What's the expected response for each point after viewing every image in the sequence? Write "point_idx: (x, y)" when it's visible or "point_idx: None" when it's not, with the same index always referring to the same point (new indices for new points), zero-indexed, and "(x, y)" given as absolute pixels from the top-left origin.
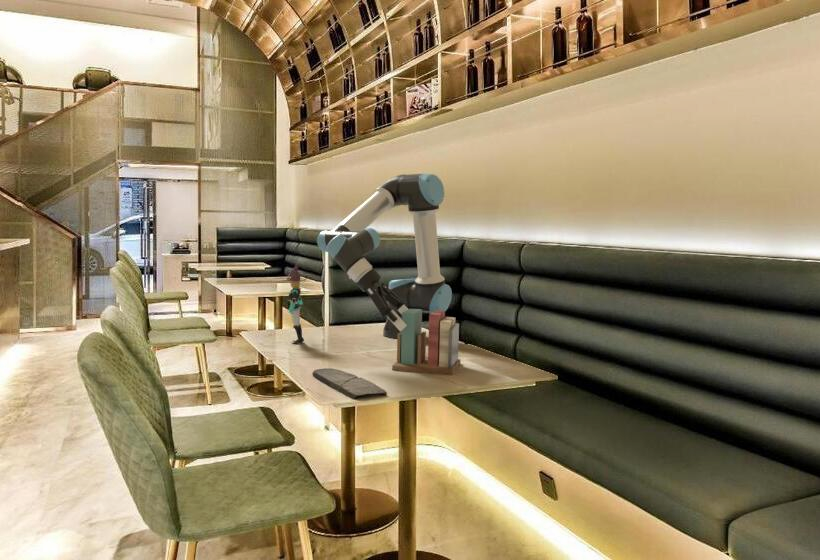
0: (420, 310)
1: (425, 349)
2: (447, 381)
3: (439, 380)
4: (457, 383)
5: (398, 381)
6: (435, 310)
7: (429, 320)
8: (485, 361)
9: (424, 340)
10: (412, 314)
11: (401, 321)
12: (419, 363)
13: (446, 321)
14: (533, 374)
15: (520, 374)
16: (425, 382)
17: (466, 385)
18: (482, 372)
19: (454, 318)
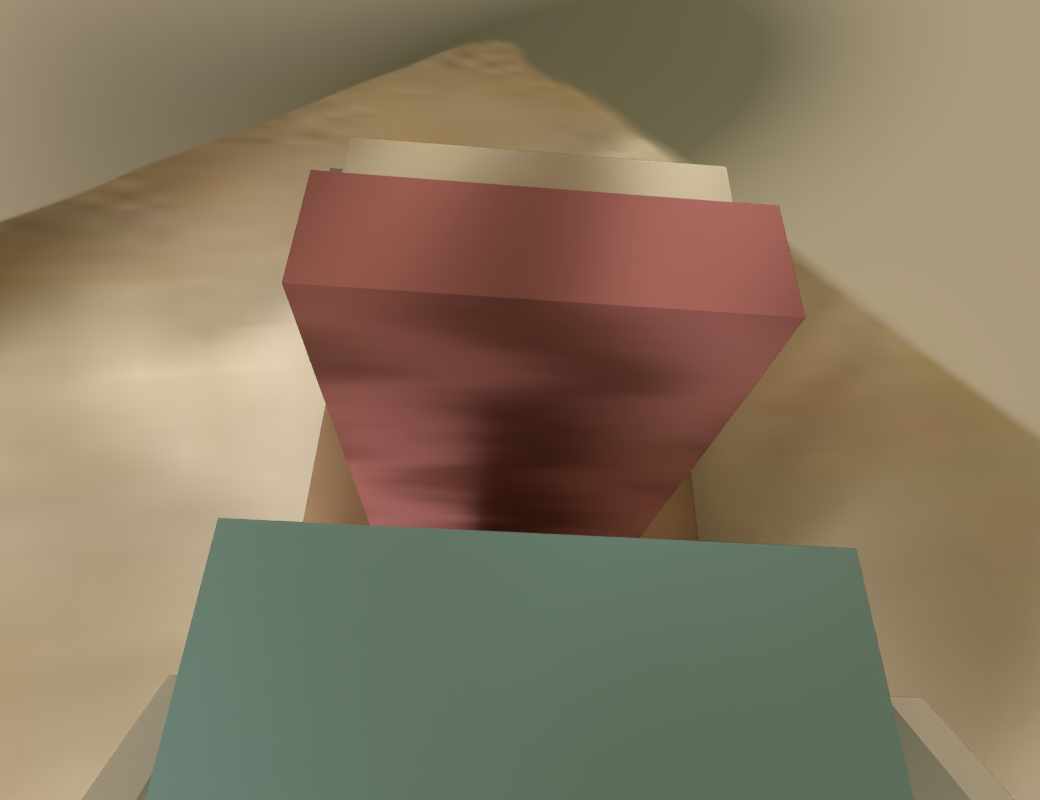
0: (356, 527)
1: None
2: (833, 409)
3: (836, 453)
4: (845, 358)
5: (1017, 708)
6: (323, 283)
7: (764, 364)
8: (233, 256)
9: None
10: (853, 596)
11: (993, 794)
12: None
13: (714, 196)
14: (502, 80)
15: (521, 120)
16: (929, 524)
17: (859, 316)
18: None
19: (430, 144)
